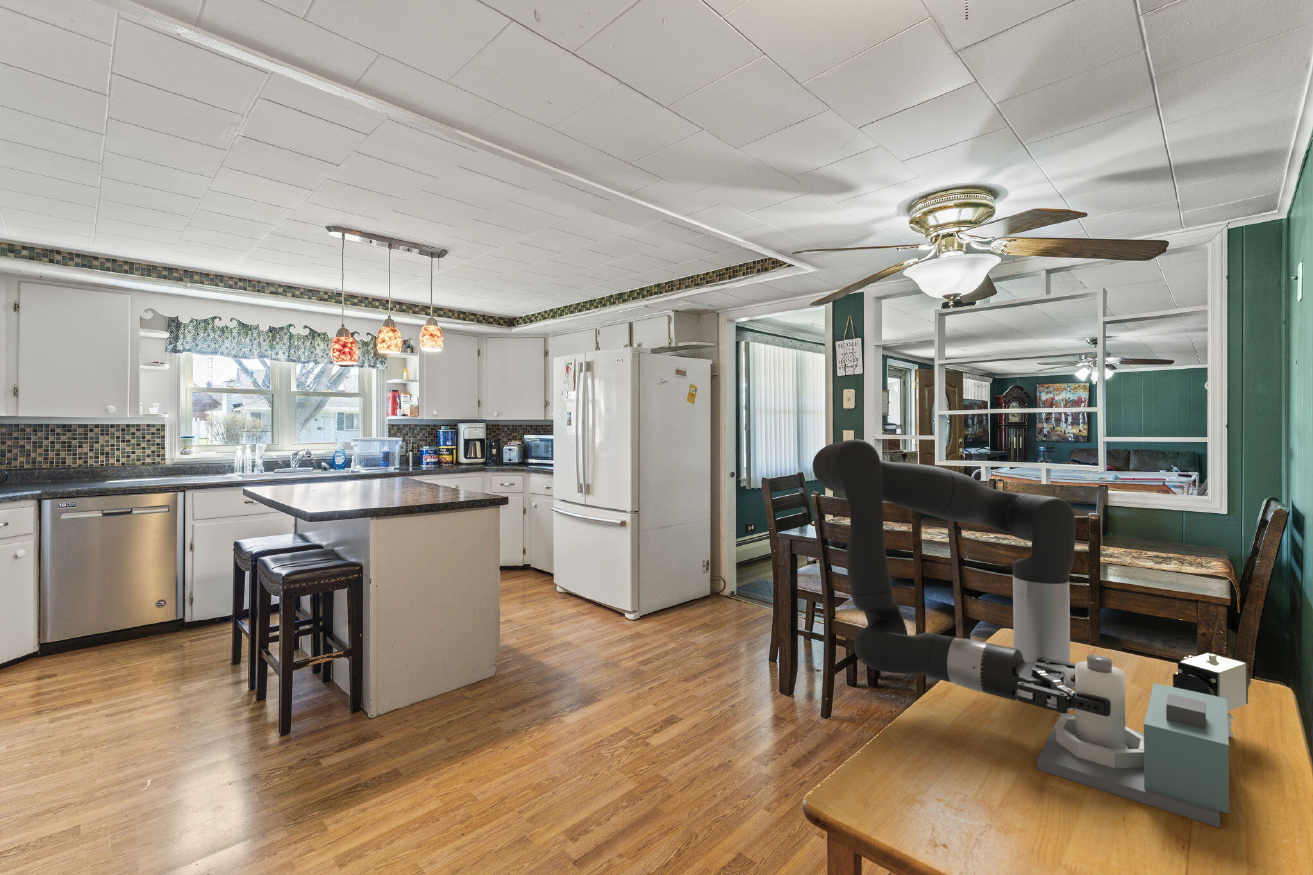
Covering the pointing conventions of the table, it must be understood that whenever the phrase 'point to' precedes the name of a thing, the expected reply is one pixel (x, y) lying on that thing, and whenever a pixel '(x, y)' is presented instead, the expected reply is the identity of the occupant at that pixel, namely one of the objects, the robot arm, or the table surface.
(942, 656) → the robot arm
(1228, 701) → the pneumatic valve
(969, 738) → the table surface
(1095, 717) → the bottle
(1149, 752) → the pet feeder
